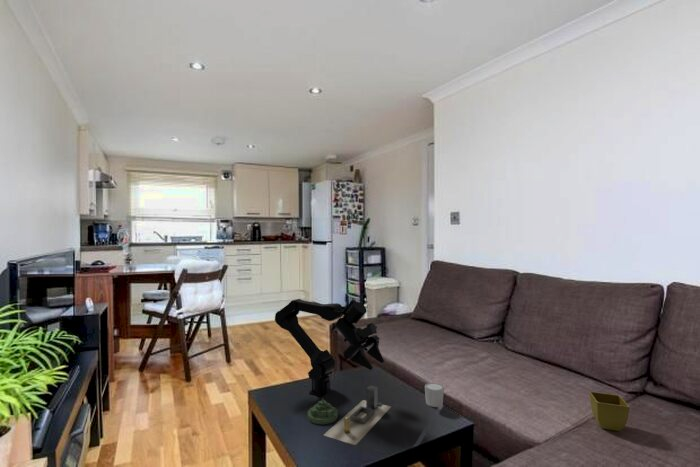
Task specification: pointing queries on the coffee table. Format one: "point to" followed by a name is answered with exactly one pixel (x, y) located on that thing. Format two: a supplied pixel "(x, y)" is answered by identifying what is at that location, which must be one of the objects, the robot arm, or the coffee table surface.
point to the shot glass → (434, 395)
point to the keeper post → (347, 425)
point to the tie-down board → (356, 425)
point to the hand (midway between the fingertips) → (377, 365)
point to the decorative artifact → (322, 413)
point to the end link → (367, 406)
